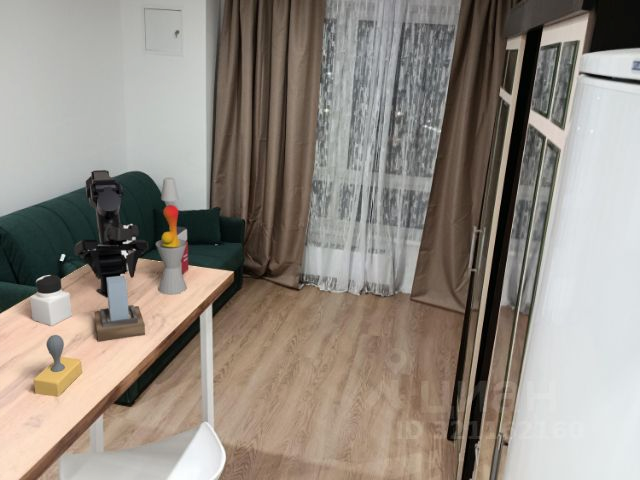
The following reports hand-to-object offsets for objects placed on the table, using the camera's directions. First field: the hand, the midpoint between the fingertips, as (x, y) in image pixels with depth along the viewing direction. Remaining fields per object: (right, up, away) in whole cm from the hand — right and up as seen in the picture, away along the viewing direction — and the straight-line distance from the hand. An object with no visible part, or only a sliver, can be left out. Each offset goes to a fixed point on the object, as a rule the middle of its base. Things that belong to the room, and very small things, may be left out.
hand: (116, 278), depth 160 cm
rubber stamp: (-4, -22, -25) cm, 34 cm away
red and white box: (+8, -1, +35) cm, 36 cm away
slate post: (+1, -10, -1) cm, 11 cm away
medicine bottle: (-18, -11, +3) cm, 22 cm away
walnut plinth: (+1, -13, 0) cm, 13 cm away
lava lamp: (+9, -5, +25) cm, 27 cm away
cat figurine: (-11, +1, +38) cm, 39 cm away
